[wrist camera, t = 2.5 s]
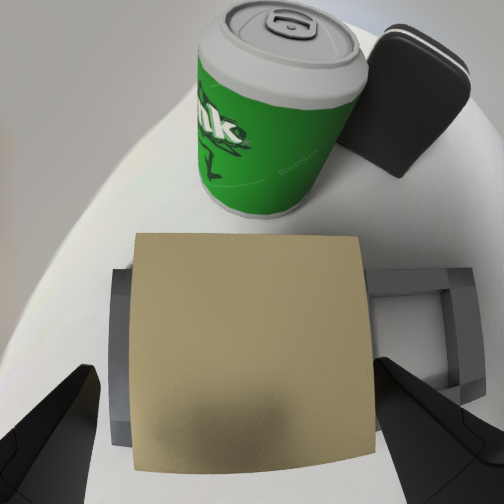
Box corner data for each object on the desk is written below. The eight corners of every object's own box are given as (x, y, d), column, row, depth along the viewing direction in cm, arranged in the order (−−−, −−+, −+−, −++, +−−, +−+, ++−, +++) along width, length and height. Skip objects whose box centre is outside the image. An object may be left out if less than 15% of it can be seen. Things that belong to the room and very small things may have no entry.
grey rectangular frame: (475, 395, 18) (486, 395, 17) (117, 440, 15) (111, 445, 13) (462, 272, 21) (471, 267, 20) (118, 275, 18) (112, 269, 17)
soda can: (310, 149, 23) (368, 17, 12) (301, 237, 20) (389, 103, 9) (213, 129, 23) (223, -16, 12) (186, 214, 20) (171, 54, 9)
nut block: (272, 402, 17) (375, 452, 5) (183, 404, 16) (134, 470, 5) (269, 317, 18) (357, 236, 7) (182, 318, 18) (136, 232, 7)
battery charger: (408, 154, 25) (479, 65, 14) (401, 183, 23) (483, 88, 13) (341, 114, 25) (391, 9, 15) (327, 139, 24) (382, 22, 13)
